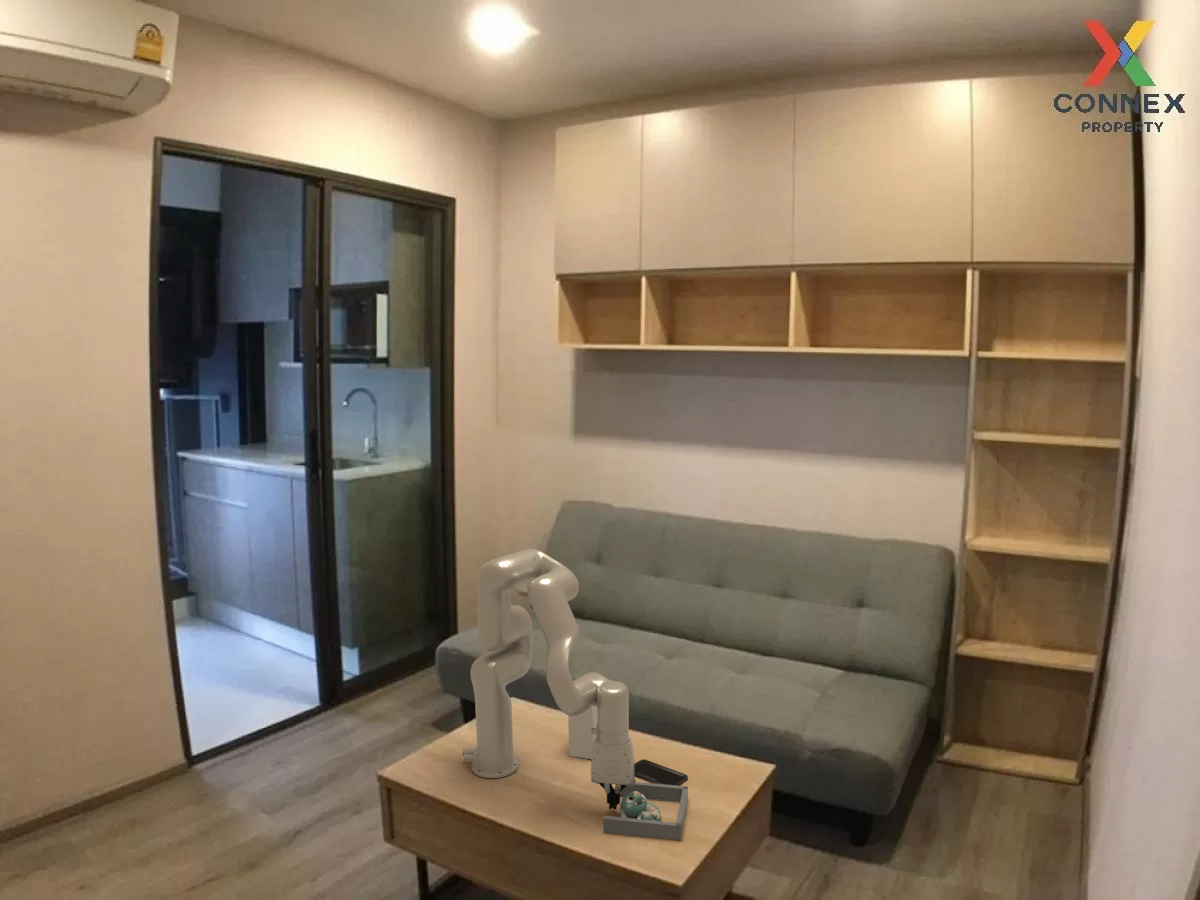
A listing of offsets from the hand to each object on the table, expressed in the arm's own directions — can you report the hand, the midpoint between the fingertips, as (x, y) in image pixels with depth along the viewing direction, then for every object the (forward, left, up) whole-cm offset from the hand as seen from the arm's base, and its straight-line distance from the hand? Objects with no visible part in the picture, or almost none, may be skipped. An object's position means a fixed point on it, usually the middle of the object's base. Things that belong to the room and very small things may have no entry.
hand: (613, 806), depth 208 cm
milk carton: (-13, +28, -2) cm, 31 cm away
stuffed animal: (+7, -3, -2) cm, 8 cm away
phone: (+8, +19, -2) cm, 21 cm away
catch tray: (+8, 0, -2) cm, 8 cm away
